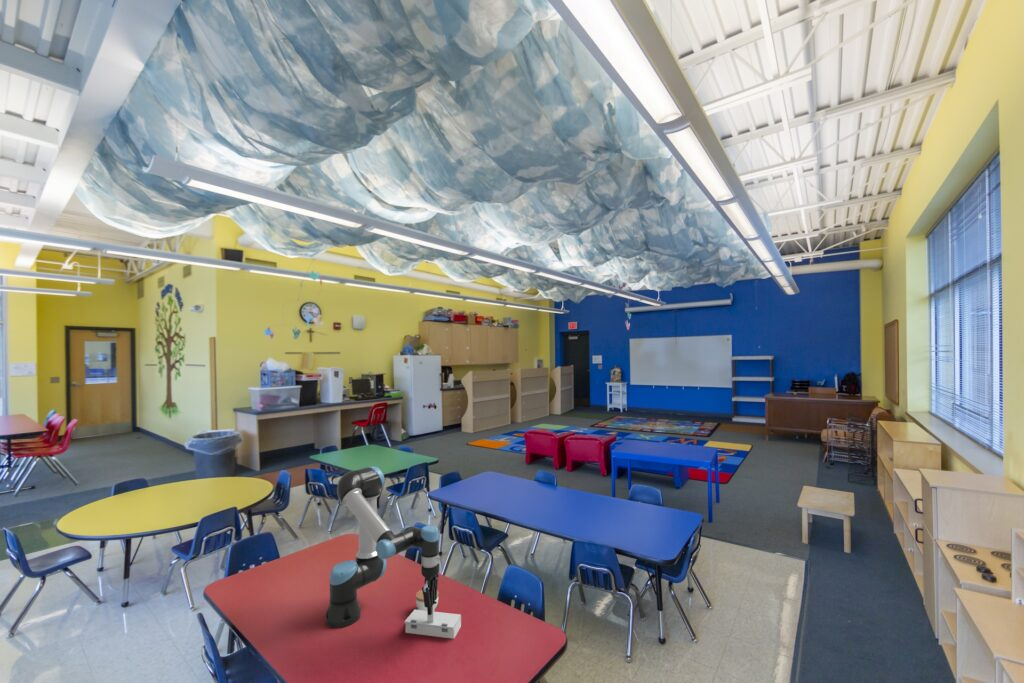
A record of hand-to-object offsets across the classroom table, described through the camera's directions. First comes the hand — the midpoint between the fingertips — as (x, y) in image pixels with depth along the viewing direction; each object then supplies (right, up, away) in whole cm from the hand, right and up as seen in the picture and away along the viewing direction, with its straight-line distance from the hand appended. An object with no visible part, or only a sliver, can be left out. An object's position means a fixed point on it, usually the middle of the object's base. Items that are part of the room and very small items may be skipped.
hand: (430, 620), depth 185 cm
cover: (0, -1, +3) cm, 3 cm away
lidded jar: (-5, -7, +18) cm, 19 cm away
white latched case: (+1, -6, +3) cm, 6 cm away
